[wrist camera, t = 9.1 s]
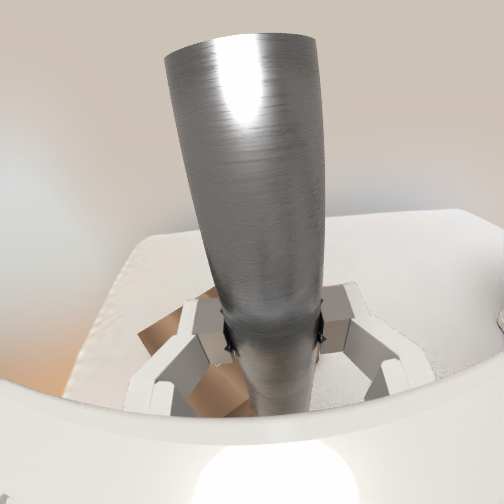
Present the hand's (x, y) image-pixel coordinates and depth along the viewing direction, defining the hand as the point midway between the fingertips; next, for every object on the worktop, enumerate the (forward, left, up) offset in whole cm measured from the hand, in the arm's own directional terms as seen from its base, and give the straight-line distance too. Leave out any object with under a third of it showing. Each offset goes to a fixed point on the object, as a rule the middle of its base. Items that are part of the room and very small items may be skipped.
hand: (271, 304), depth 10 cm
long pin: (+1, +1, -10) cm, 10 cm away
